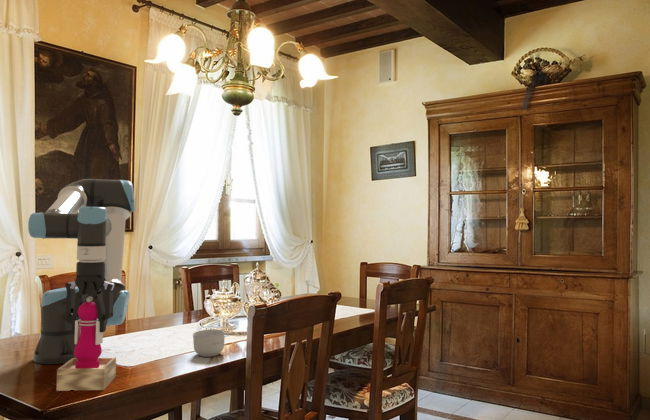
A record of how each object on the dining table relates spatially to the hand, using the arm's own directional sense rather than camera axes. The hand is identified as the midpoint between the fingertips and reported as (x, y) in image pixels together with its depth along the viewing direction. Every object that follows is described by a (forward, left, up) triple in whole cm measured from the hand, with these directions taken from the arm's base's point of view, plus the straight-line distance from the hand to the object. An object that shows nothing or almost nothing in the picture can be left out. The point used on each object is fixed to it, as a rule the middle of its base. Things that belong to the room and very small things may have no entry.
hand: (88, 343), depth 151 cm
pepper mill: (0, 0, -7) cm, 7 cm away
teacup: (+25, +38, -12) cm, 47 cm away
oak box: (0, 0, -11) cm, 11 cm away
